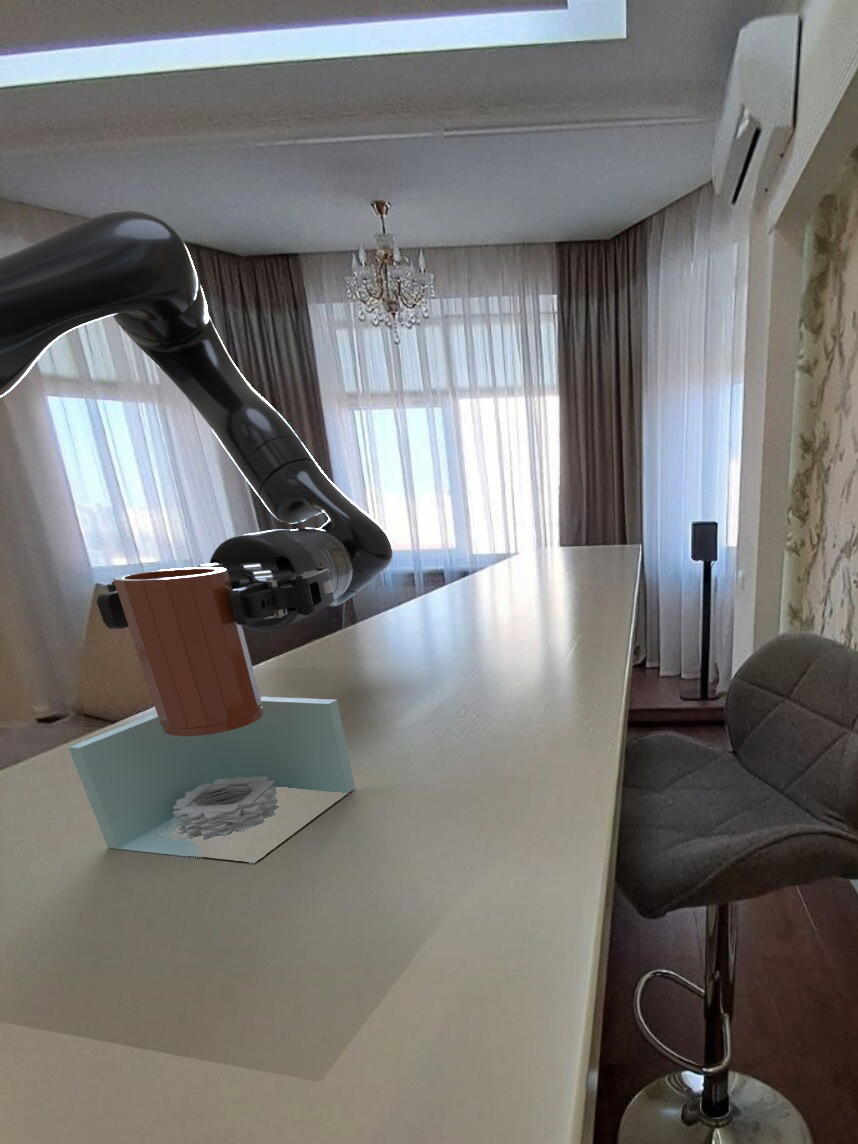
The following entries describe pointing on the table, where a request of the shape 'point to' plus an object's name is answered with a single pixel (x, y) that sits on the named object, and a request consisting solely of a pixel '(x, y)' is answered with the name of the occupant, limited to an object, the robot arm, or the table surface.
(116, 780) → the right angle wall
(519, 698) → the table surface
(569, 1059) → the table surface
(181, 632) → the cup
